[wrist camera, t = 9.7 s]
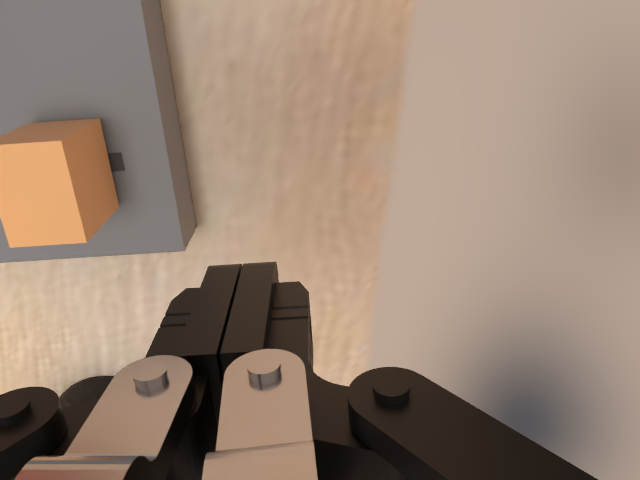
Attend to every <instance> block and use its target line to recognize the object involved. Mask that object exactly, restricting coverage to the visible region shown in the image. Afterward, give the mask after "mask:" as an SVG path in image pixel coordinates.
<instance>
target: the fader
mask: <svg viewBox="0 0 640 480" xmlns="http://www.w3.org/2000/svg"><path fill="white" fill-rule="evenodd" d="M118 208H119V203H118V199H117V194H116V190H115V185H114V181H113V176H112V172H111V167H110V163H109V158H108V153H107V149H106V144H105V140H104V135H103V131H102V126H101V122H100V118H95V119H80V120H65V121H50V122H36V123H28V124H26V125H24V126H22V127H19V128H17V129H15V130H13V131H11V132H8V133H6V134H4V135H2V136H0V218H1V221H2V224H3V227H4V231H5V234H6V237H7V240H8V243H9V247H10V248H14V247H29V246H45V245H60V244H76V243H87V242H88V241H89V240H90V239H91V238H92V237H93V235H94V234H95V233H96V232H97V231H98V230H99V229H100V228H101V227H102V225H103V224H104V223H105V222H106V221H107V220H108V219H109V218H110V217H111V216H112V214H113V213H114V212H115V211H116V210H117V209H118Z"/></svg>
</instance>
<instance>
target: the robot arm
mask: <svg viewBox="0 0 640 480" xmlns="http://www.w3.org/2000/svg"><path fill="white" fill-rule="evenodd" d="M165 315H166V316H165V317H164V318H163V320H162V322H161V325H160V328H159V329H158V331H157V333H156V335H155V338H154V340H153V342H152V344H151V346H150V348H149V351H148V353H147V355H146V357H145V358H144V359H141V360H138V361H136V362H133V363H131V364H130V365H128V366H126V367H125V368H123V369H122V370H120V371H119V372H118V373H117V374H116V375H115V376H114V378H113V379H112V381H111V382H110V384H109V385H108V387H107V388H106V390H105V392H104V393H103V395H102V396H101V398H98V399H95V400H92V401H88V402H84V403H80V404H77V405H73V406H69V407H65V408H62V407H61V404H60V400H59V397H58V395H57V394H56V393H55V392H54V391H53V390H51V389H48V388H44V387H27V388H21V389H16V390H13V391H10V392H7V393H4V394H2V395H0V480H598V479H596V478H594V477H593V476H591V475H589V474H588V473H586V472H584V471H582V470H581V469H579V468H577V467H576V466H574V465H572V464H571V463H569V462H567V461H566V460H564V459H562V458H561V457H559V456H557V455H555V454H554V453H552V452H550V451H549V450H547V449H545V448H544V447H542V446H540V445H539V444H537V443H535V442H533V441H532V440H530V439H528V438H527V437H525V436H523V435H522V434H520V433H518V432H517V431H515V430H513V429H512V428H510V427H508V426H507V425H505V424H503V423H501V422H500V421H498V420H496V419H495V418H493V417H491V416H490V415H488V414H486V413H485V412H483V411H481V410H480V409H477V408H476V407H474V406H473V405H471V404H469V403H468V402H466V401H464V400H463V399H461V398H459V397H457V396H456V395H454V394H452V393H451V392H449V391H447V390H446V389H444V388H442V387H441V386H439V385H437V384H436V383H434V382H432V381H430V380H429V379H427V378H425V377H424V376H422V375H420V374H418V373H416V372H414V371H411V370H408V369H403V368H398V367H383V368H377V369H372V370H369V371H366V372H364V373H362V374H361V375H359V376H358V377H356V378H355V379H354V380H353V381H352V383H351V384H350V386H349V387H348V386H342V385H337V384H333V383H330V382H328V381H326V380H323V379H322V378H320V377H319V376H317V375H316V374H315V373H314V372H313V342H312V329H311V316H310V304H309V292H308V291H307V290H306V289H305V287H304V286H303V285H302V284H301V283H300V282H283V283H279V280H278V270H277V265H276V262H264V263H248V264H243V266H242V264H233V265H217V266H209V267H208V269H207V271H206V274H205V277H204V279H203V282H202V284H201V287H200V288H186V289H185V290H184V291H183V292H181V293H180V294H179V295H178V296H177V297H175V298H174V299H173V300H172V301H171V303H170V305H169V307H168V309H167V312H166V314H165Z"/></svg>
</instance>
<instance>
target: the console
mask: <svg viewBox="0 0 640 480" xmlns="http://www.w3.org/2000/svg"><path fill="white" fill-rule="evenodd" d="M95 118H100V122H101V126H102V131H103V135H104V140H105V144H106V149H107V153H108V158H109V163H110V167H111V172H112V176H113V181H114V185H115V190H116V194H117V199H118V203H119V208H118V209H117V210H116V211H115V212H114V213H113V214H112V216H111V217H110V218H109V219H108V220H107V221H106V222H105V223H104V224H103V225H102V227H101V228H100V229H99V230H98V231H97V232H96V233H95V234H94V235H93V237H92V238H91V239H90V240H89V241H88V242H87V243H76V244H60V245H45V246H29V247H14V248H10V247H9V243H8V240H7V237H6V234H5V231H4V227H3V224H2V221H1V218H0V263H5V262H20V261H36V260H51V259H67V258H82V257H98V256H113V255H129V254H144V253H160V252H175V251H185V249H186V247H187V245H188V243H189V241H190V239H191V237H192V235H193V233H194V231H195V229H196V221H195V215H194V208H193V202H192V196H191V190H190V184H189V178H188V172H187V166H186V160H185V154H184V148H183V141H182V135H181V129H180V123H179V117H178V111H177V105H176V99H175V93H174V87H173V81H172V74H171V68H170V62H169V56H168V50H167V44H166V38H165V32H164V26H163V20H162V14H161V8H160V1H159V0H0V136H2V135H4V134H6V133H8V132H11V131H13V130H15V129H17V128H19V127H22V126H24V125H26V124H28V123H36V122H50V121H65V120H80V119H95Z"/></svg>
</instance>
